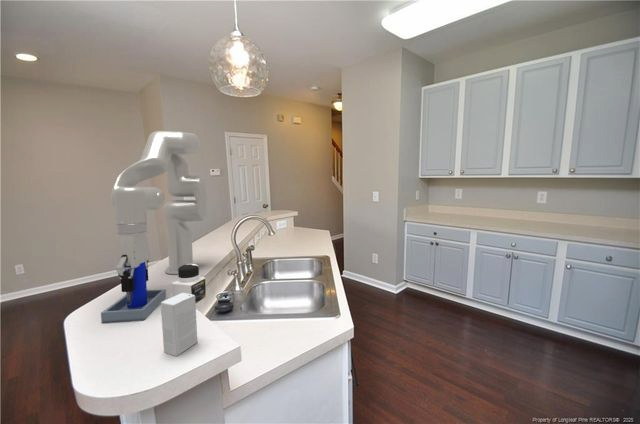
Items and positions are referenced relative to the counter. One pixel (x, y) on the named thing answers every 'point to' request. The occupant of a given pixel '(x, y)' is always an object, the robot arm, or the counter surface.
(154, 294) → the tray
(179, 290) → the medicine bottle
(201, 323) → the counter surface
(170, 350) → the skincare box
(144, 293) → the beverage can
